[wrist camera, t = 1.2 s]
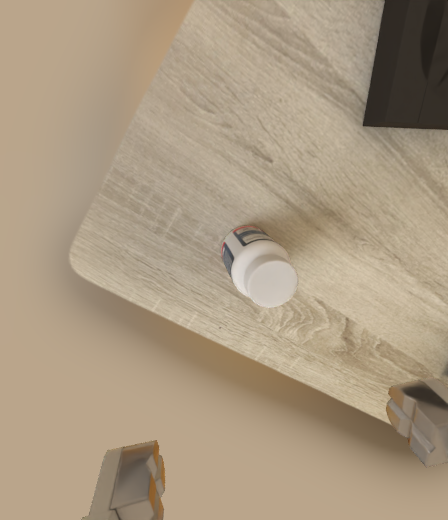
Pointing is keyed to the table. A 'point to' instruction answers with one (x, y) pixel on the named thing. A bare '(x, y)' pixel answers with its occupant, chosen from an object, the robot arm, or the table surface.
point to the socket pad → (410, 67)
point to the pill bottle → (259, 266)
